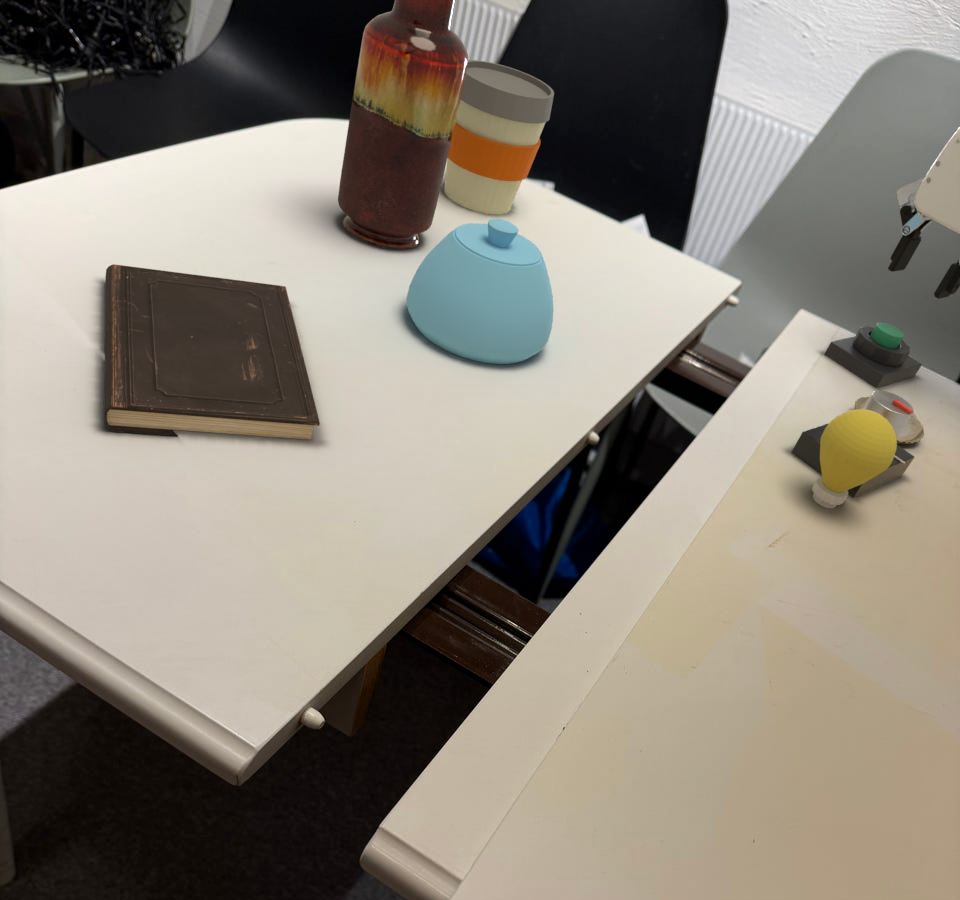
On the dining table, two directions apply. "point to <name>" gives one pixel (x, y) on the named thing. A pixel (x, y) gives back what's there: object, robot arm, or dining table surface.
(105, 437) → the dining table surface
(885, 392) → the program dial
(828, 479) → the light bulb
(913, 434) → the seashell
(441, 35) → the vase
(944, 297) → the robot arm
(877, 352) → the block
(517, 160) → the reusable coffee cup
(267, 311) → the hardcover book
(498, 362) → the sugar bowl
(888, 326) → the button
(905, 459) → the washer panel
